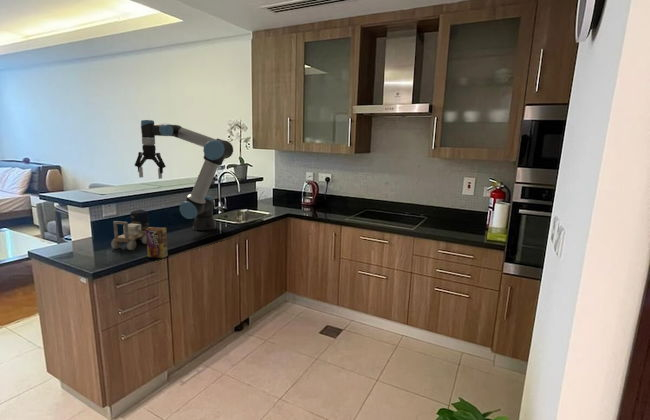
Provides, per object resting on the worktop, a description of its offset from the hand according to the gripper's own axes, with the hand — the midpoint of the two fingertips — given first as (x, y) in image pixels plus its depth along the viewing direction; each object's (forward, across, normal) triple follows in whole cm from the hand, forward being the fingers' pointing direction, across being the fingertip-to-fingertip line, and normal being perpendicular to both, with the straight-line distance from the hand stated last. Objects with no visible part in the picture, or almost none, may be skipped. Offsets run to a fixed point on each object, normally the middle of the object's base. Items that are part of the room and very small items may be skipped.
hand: (150, 177), depth 224 cm
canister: (+35, -6, +21) cm, 41 cm away
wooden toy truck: (+35, -11, +36) cm, 51 cm away
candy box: (+35, -35, +48) cm, 69 cm away
